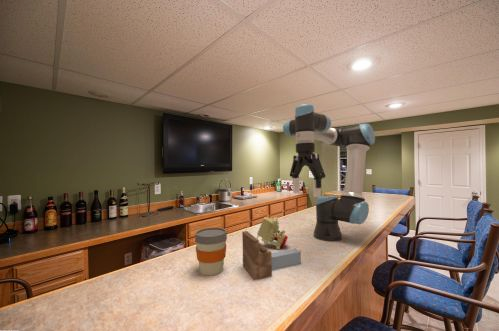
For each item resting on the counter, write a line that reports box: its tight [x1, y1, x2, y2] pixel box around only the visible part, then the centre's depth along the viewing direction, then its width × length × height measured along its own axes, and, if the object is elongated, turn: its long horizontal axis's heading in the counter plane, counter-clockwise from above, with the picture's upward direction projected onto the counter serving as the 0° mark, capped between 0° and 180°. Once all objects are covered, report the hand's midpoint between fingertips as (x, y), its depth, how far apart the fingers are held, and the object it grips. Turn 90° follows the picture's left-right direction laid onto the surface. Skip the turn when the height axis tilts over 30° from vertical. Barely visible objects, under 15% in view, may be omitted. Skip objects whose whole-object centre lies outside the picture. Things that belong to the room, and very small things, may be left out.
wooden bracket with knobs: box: [241, 230, 273, 281], centre depth 82 cm, size 7×12×14 cm, turn 22°
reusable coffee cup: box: [194, 227, 228, 277], centre depth 83 cm, size 13×13×15 cm
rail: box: [271, 247, 302, 271], centre depth 85 cm, size 20×4×5 cm, turn 112°
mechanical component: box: [256, 216, 289, 251], centre depth 106 cm, size 8×17×20 cm, turn 79°
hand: (306, 194), depth 86 cm, fingers open, 13 cm apart
